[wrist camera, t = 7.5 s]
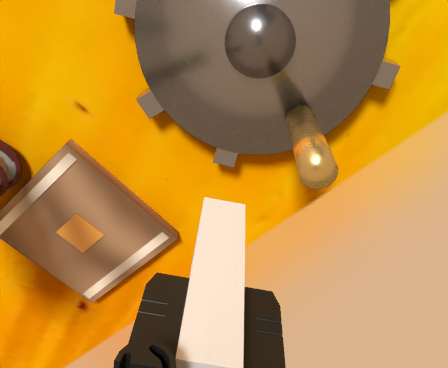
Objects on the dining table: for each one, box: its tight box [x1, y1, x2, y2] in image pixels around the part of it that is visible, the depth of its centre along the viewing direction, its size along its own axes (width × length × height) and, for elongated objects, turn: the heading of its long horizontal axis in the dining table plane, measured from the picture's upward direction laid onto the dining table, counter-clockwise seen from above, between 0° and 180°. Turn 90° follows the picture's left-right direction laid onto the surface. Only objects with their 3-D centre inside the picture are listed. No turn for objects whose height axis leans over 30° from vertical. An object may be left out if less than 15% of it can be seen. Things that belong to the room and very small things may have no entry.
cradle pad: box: [0, 139, 179, 303], centre depth 36 cm, size 12×12×1 cm
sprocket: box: [114, 0, 400, 189], centre depth 23 cm, size 19×19×10 cm
